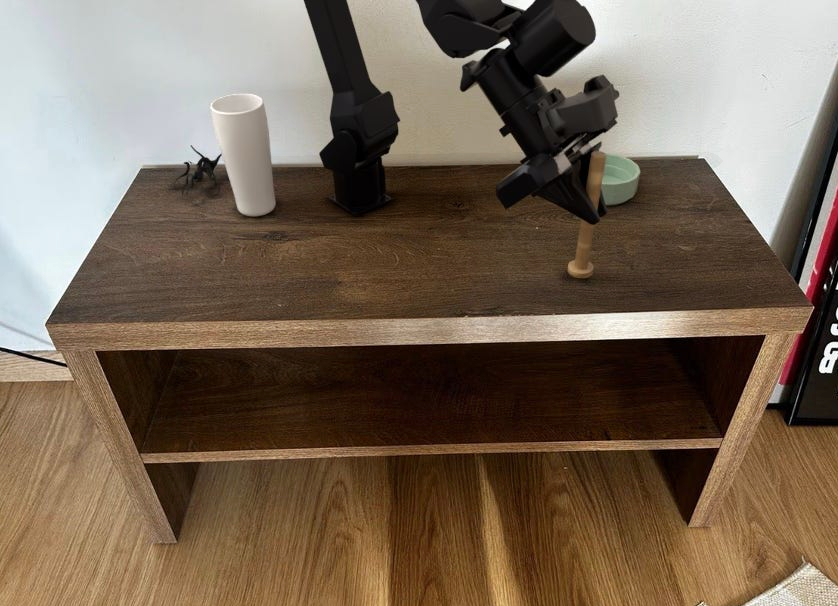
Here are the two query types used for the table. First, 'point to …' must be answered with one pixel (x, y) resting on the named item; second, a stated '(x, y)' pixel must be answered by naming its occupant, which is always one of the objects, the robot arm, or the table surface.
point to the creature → (200, 171)
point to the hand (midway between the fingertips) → (600, 219)
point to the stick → (593, 188)
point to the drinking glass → (245, 151)
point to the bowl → (619, 179)
